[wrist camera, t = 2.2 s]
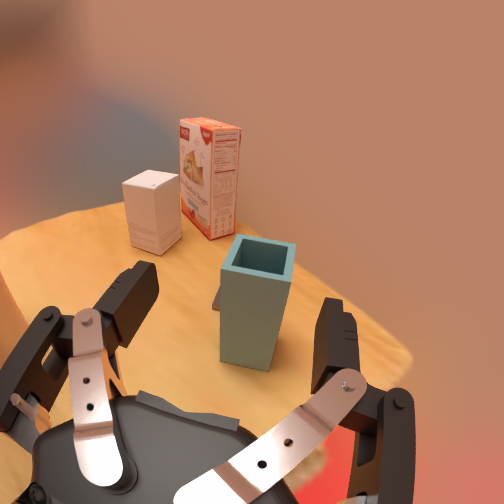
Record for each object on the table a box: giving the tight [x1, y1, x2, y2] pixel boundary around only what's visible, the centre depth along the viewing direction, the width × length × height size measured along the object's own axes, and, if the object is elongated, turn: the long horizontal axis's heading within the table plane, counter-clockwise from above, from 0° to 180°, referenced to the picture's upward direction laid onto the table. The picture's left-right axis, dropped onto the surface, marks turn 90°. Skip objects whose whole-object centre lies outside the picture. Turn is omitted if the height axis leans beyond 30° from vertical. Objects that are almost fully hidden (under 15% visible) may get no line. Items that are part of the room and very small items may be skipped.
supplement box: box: [122, 170, 182, 256], centre depth 46 cm, size 7×7×13 cm
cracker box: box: [180, 118, 241, 240], centre depth 51 cm, size 14×6×21 cm, turn 35°
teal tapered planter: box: [220, 234, 296, 372], centre depth 29 cm, size 6×6×14 cm
